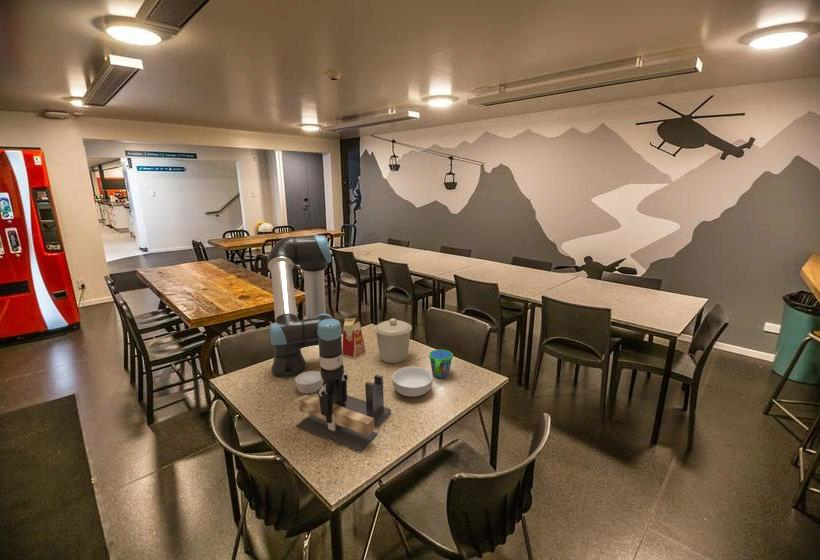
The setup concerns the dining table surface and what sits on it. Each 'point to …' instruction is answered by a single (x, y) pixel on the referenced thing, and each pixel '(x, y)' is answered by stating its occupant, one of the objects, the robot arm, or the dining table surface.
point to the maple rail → (339, 415)
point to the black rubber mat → (336, 433)
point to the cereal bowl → (412, 381)
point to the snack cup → (440, 362)
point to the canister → (393, 340)
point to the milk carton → (353, 339)
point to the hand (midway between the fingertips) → (335, 425)
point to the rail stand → (370, 402)
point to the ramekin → (309, 382)
